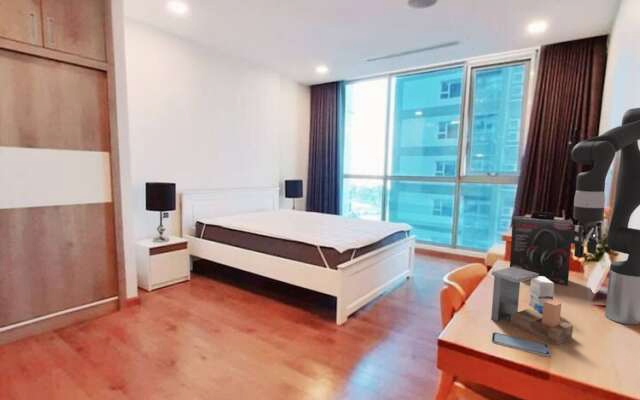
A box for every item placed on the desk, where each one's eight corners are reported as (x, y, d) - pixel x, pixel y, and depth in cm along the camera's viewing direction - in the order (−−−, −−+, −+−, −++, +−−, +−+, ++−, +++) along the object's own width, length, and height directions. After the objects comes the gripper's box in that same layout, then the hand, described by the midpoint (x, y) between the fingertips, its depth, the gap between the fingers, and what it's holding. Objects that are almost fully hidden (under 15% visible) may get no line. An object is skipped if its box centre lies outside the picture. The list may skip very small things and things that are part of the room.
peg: (558, 336, 106) (561, 303, 105) (552, 339, 105) (555, 305, 104) (546, 331, 110) (549, 299, 108) (540, 334, 108) (543, 301, 107)
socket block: (526, 319, 118) (527, 308, 118) (571, 337, 106) (572, 325, 106) (510, 325, 113) (511, 314, 113) (555, 345, 101) (556, 332, 101)
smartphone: (492, 331, 108) (548, 344, 101) (492, 334, 108) (547, 346, 101) (491, 341, 102) (550, 355, 94) (491, 344, 102) (550, 358, 94)
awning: (509, 311, 125) (513, 266, 123) (534, 321, 117) (538, 273, 115) (488, 318, 118) (491, 271, 117) (513, 329, 111) (517, 279, 109)
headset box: (507, 275, 168) (512, 210, 165) (510, 269, 178) (515, 208, 175) (568, 286, 153) (575, 215, 150) (567, 279, 163) (574, 213, 160)
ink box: (552, 313, 123) (555, 283, 122) (537, 312, 124) (540, 282, 123) (542, 304, 132) (544, 275, 131) (528, 303, 133) (530, 274, 132)
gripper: (592, 208, 98) (588, 261, 100) (613, 204, 105) (609, 254, 107) (564, 205, 105) (560, 255, 107) (585, 202, 112) (582, 249, 114)
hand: (585, 255), depth 107 cm, fingers open, 8 cm apart
